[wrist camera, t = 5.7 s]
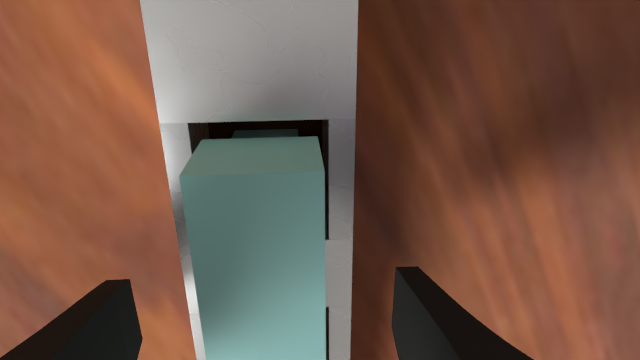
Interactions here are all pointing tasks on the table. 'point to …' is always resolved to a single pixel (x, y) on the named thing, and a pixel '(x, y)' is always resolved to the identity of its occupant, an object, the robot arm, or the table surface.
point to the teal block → (258, 244)
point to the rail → (262, 107)
